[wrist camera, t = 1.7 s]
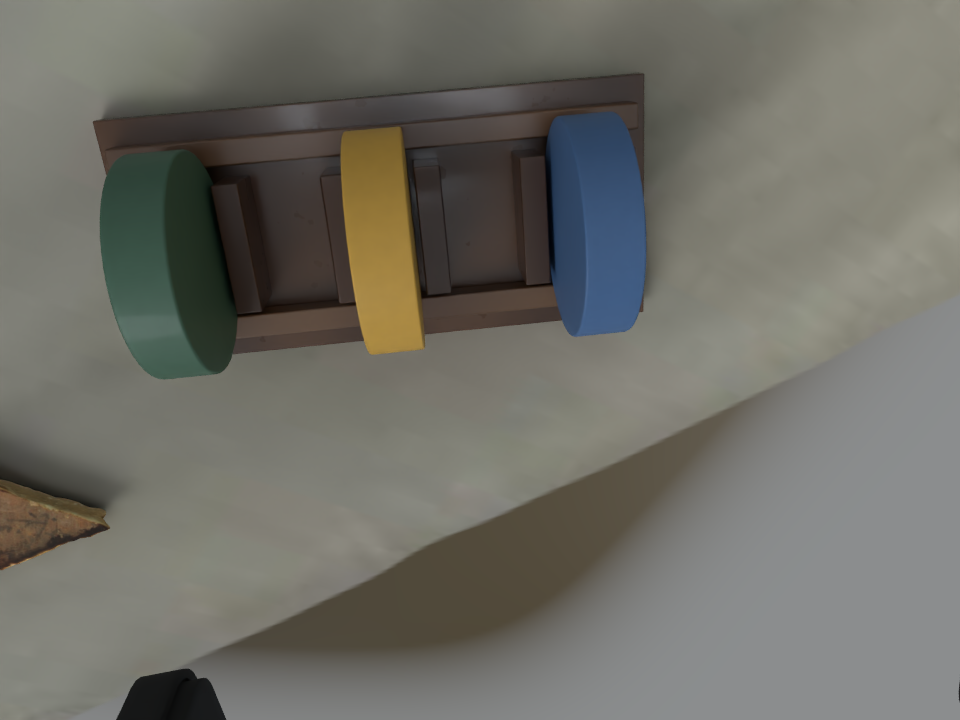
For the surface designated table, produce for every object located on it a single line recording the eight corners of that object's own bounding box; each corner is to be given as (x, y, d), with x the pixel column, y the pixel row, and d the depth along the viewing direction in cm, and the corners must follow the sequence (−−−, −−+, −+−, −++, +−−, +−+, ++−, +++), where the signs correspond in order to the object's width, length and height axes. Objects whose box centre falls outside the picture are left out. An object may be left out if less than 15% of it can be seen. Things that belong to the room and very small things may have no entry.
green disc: (202, 335, 32) (140, 417, 25) (157, 143, 29) (73, 171, 22) (249, 330, 32) (202, 410, 25) (209, 138, 29) (143, 164, 22)
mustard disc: (377, 318, 33) (367, 388, 25) (351, 125, 30) (331, 139, 22) (423, 313, 33) (427, 381, 25) (402, 121, 30) (398, 133, 22)
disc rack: (160, 355, 33) (136, 384, 30) (99, 119, 30) (65, 126, 27) (638, 306, 34) (660, 330, 31) (638, 72, 31) (663, 74, 28)
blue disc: (548, 300, 33) (588, 369, 26) (539, 109, 30) (582, 125, 23) (593, 295, 33) (646, 363, 26) (589, 104, 30) (648, 119, 23)
